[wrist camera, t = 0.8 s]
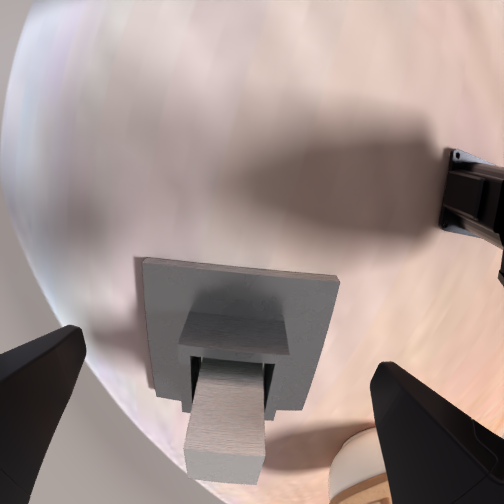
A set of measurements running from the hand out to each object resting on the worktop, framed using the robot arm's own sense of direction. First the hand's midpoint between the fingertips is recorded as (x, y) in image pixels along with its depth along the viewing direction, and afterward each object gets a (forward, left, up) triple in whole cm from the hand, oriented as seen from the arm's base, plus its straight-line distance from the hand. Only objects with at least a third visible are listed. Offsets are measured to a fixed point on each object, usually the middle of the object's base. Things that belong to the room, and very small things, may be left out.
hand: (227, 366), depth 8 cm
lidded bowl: (-18, +26, -13) cm, 34 cm away
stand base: (0, +10, -13) cm, 16 cm away
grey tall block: (0, +10, -12) cm, 15 cm away
